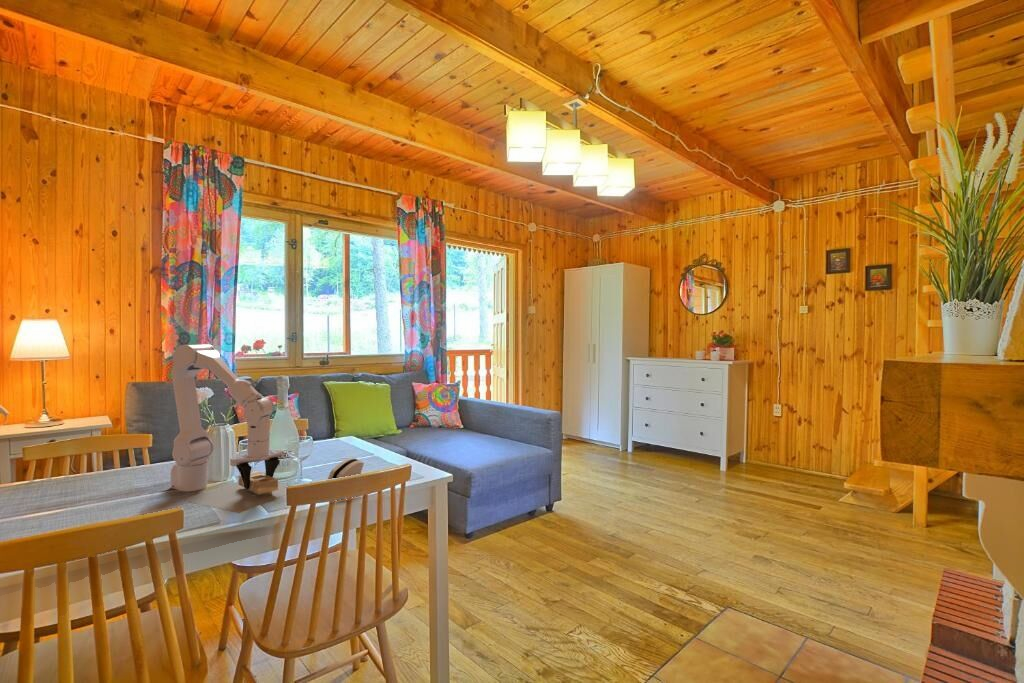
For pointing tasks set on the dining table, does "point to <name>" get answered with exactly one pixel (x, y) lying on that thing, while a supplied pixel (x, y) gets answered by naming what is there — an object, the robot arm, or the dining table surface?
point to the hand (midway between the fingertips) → (257, 485)
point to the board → (234, 497)
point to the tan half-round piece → (347, 468)
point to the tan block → (260, 483)
